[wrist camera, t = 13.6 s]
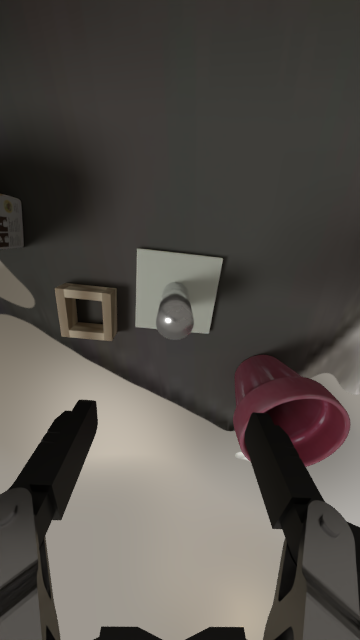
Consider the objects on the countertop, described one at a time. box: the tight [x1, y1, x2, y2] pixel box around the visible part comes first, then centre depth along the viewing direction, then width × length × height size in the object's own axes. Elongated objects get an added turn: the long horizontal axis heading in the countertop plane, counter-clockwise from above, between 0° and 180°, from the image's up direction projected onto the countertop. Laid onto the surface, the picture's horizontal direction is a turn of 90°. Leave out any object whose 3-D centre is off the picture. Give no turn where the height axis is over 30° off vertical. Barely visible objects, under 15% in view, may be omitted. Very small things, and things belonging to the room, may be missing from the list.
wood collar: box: [55, 283, 117, 341], centre depth 30 cm, size 8×8×3 cm
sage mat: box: [135, 248, 223, 334], centre depth 30 cm, size 12×12×1 cm
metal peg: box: [156, 282, 194, 340], centre depth 25 cm, size 4×4×10 cm
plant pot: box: [233, 355, 350, 467], centre depth 32 cm, size 14×14×13 cm
